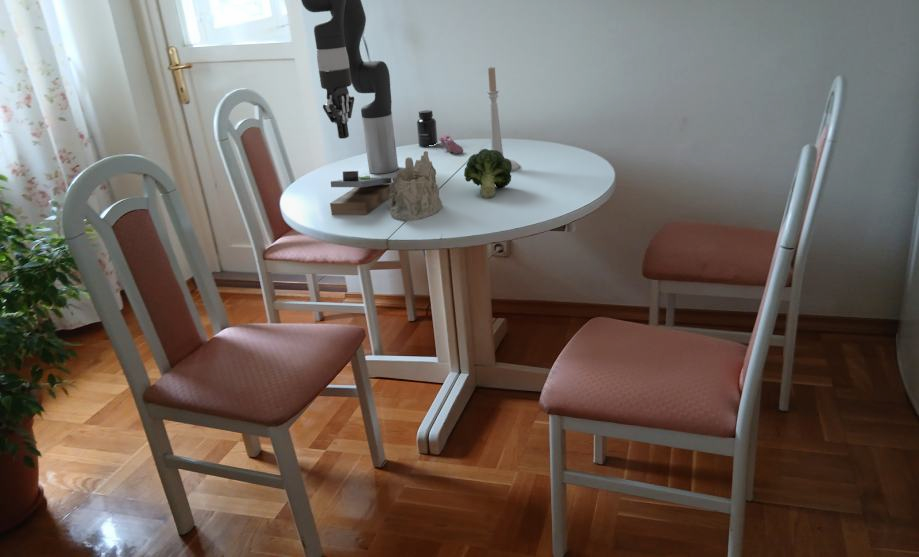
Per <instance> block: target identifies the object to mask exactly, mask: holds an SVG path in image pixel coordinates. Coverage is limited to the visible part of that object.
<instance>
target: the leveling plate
mask: <svg viewBox="0 0 919 557" xmlns="http://www.w3.org/2000/svg"><path fill="white" fill-rule="evenodd" d="M388 183H393V181H392V177H391V176H390V177H388V176H387V177H384V176H383V177H379V176H378V177H374V176H373V177H372V176H370V175H359V171H358V170H349V171H348V170H345V171H342V179H338V180H331V181H330V188H355V187H368V186H375V185H381V184H388Z"/></svg>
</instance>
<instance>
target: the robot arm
mask: <svg viewBox="0 0 919 557" xmlns="http://www.w3.org/2000/svg"><path fill="white" fill-rule="evenodd" d="M301 5H302V6H303V7H304V8H305V9H306V10H307V11H308V12H310V13H321V12H322V13H323V12H330V15H331V18H329V19H328V20H325V21H322V22H319V23H317V24H315V25H314V27H313V33H314V34H313V35H314V40H315V47H316V52H317V53H316V59H317V68H318V75H319V79H320V80H319V82H320V86H321V88H322V89H324V90H326V99H327V102H326V104H324V103H323V104H322V109H323V111H324V112H325V113H326V116H327V117H328V119H329V120H330V122H331V123H334V124H336V128H337V137H338V138H339V139H341V140H342V139H343V140H344V139H348V138H349V137H350V134H349V126H348V122H349V119H351V118H352V114H353V108H354V103H355V97H354V96H350V95H349V92H350V91H349V89H348V87H351V86H352V87H353V88H354V91H356V93H358V94H374V100H373V101H372V102H370V103H368V104H366V105H364V106H362V107H361V109H360V112H361V121H362V126H363V128H362V129H363V135H364V144H365V151H366V157H367V166H368V173H371V174H388V173H392V172H395V171H397V170H399V164H398V163H399V162H398V152H397V147H396V146H397V145H396V137H395V130H394V129H395V128H394V123H393V122H394V121H393V120H394V119H393V114H392V113H393V112H392V91H391V89H392V88H391V78H390V77H391V75H390V70H389V67H388V65H387V64H386V63H385V62H384V61H381V60H373V61H364V60H363V58H362V55H361V50H360V49H361V48H360V46H361V41H362V38H363V34H364V32H365V31H364V30H365V28H366V22H367V16H366V13H365V9H364V6H363V3H362V0H301Z"/></svg>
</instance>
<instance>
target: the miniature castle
mask: <svg viewBox="0 0 919 557" xmlns="http://www.w3.org/2000/svg"><path fill="white" fill-rule="evenodd" d="M404 164H405V167H404V168H402V169H398V172H397V173H396V176H395V177H396V178H395V177H394V178H395V179H394V181H393V180H392V184H391V185H390V186H389V189H390V190H391V191H390V193H391V194H390V202H389V203H388V207H387V208H388V211H389V214H390V217H391V218H392V219H393V220H396V221H399V220H400V221H407V222H410V221H411V222H412V221H418V220H420V219H424V218H427V217H430V216H433V215H436V214H437V213H439V212H440V211H441V210H443V207H444V206H443V201H442V200H441V196H440V189H439V185H437V177H436V175H437V170H436V168H435V167H434V166H433V162H432V161H431V160H430V158H429V151H427V150H424V151H423V155H421V156H420V159H419V160H417V159H416V160H415V163H414V162H413V158H412V157H406V158H405V163H404Z"/></svg>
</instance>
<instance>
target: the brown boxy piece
mask: <svg viewBox="0 0 919 557" xmlns="http://www.w3.org/2000/svg"><path fill="white" fill-rule="evenodd" d="M395 178H396V176H394V177H393V178H392V183H393V181H394V179H395ZM392 183H388V184H381V185H375V186H368V187H352V189H351V190H348V191H347V192H345V193H344V194H342V195H340V196H339V197H337V198H336V199H334V200H332V201H331V202H330V203H329V205H330V206H329V207H330V212H331V215H341V216H342V215H344V216H345V215H347V216H348V215H351V216H355V215H356V216H357V215H358V216H367V215H368V214H370V213H371V212H372V211H374V210H375V209H376V208H378V207H379V206H381V205H382V204H384V203H385V202H386V201H388V200H389V199H391V197H390V194H391V193H390V191H391V190H390V189H389V186H390V185H391V184H392Z"/></svg>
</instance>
